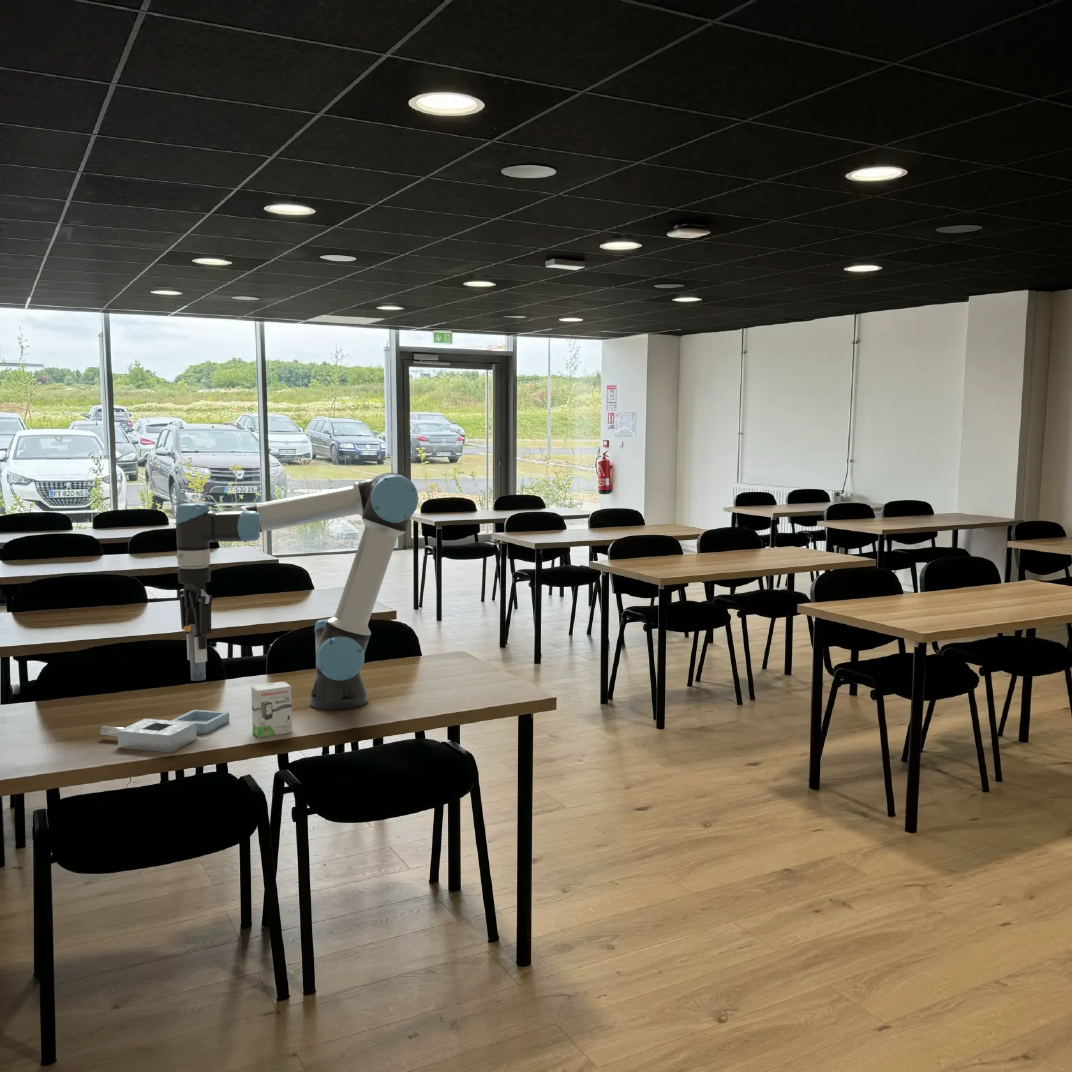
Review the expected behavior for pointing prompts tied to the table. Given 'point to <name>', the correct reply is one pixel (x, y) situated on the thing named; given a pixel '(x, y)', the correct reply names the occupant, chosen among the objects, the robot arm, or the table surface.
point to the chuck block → (153, 735)
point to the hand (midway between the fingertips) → (197, 660)
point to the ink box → (271, 709)
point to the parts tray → (205, 720)
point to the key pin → (196, 668)
